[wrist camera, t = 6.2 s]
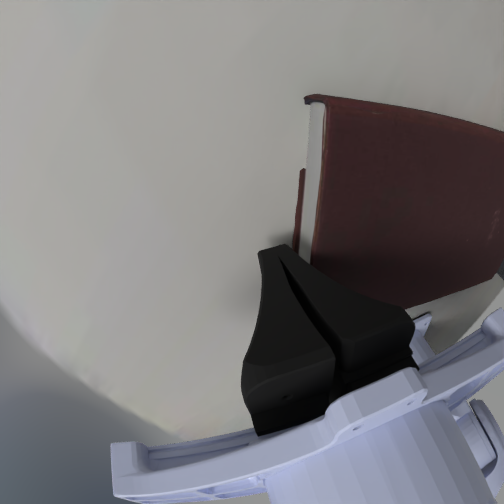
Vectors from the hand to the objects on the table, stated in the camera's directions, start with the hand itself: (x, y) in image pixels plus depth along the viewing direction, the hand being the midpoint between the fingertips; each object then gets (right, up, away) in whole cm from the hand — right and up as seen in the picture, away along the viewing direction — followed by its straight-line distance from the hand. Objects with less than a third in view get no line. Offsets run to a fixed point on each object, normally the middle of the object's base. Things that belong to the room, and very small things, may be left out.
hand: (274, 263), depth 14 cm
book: (+10, +4, +3) cm, 11 cm away
